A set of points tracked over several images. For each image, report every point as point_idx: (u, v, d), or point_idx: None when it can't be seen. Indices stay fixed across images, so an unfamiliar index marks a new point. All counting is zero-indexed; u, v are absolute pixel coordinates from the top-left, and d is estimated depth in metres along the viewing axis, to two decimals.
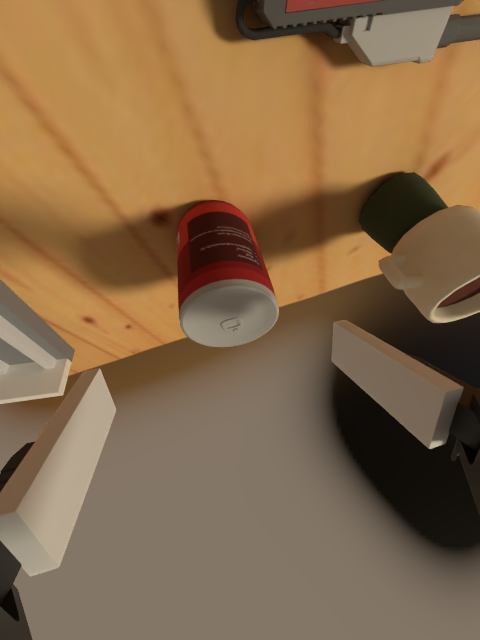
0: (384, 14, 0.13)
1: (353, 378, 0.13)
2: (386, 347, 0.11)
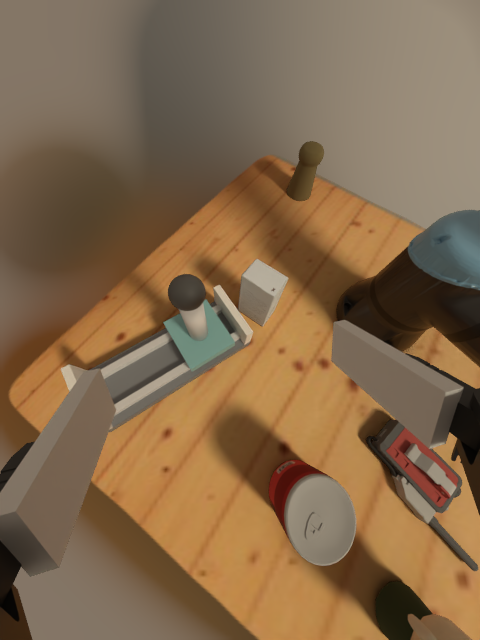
0: (413, 485, 0.34)
1: (353, 377, 0.13)
2: (387, 346, 0.11)
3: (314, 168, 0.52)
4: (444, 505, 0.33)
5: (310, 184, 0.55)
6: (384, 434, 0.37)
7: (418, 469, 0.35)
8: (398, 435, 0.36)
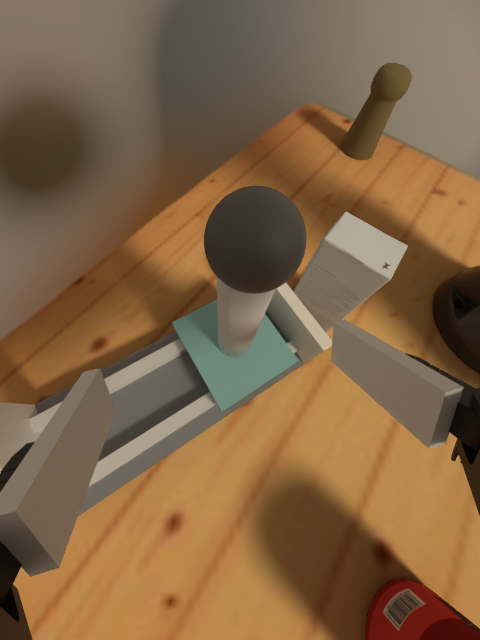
0: None
1: (353, 378, 0.13)
2: (386, 346, 0.11)
3: (392, 106, 0.36)
4: None
5: (379, 133, 0.39)
6: None
7: None
8: None
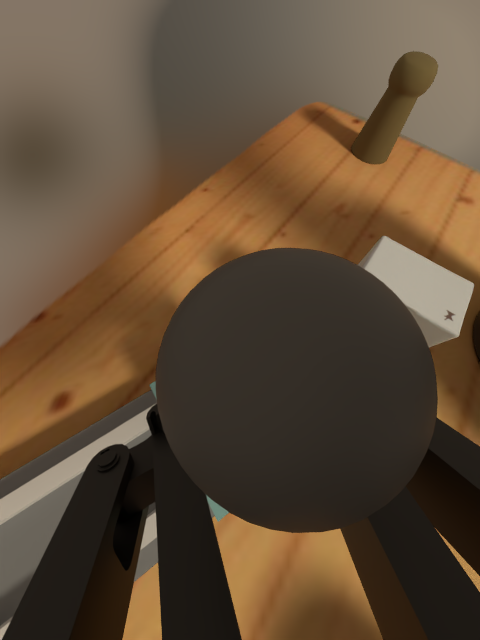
0: None
1: None
2: None
3: (413, 102, 0.31)
4: None
5: (397, 134, 0.34)
6: None
7: None
8: None
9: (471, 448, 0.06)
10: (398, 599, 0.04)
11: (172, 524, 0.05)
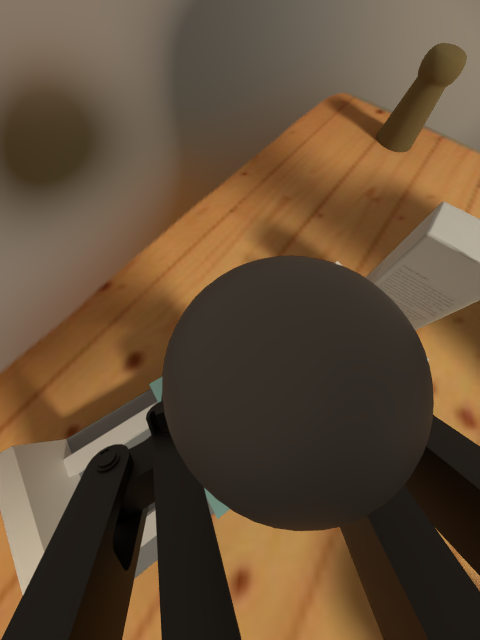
0: None
1: None
2: None
3: (441, 91, 0.33)
4: None
5: (423, 122, 0.36)
6: None
7: None
8: None
9: (471, 448, 0.06)
10: (398, 598, 0.04)
11: (172, 524, 0.05)
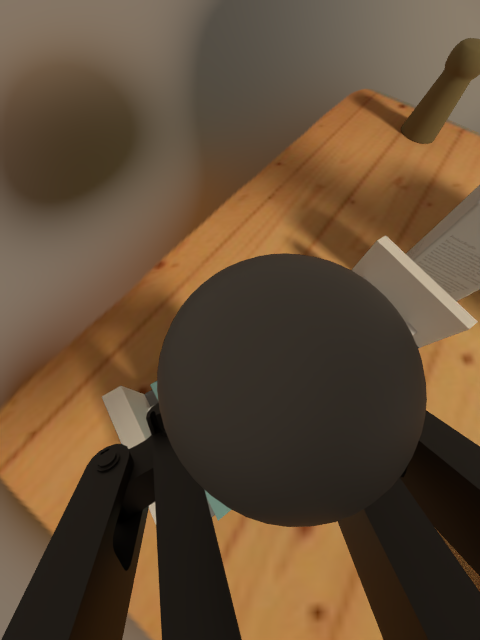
0: None
1: None
2: None
3: (467, 84, 0.35)
4: None
5: (448, 115, 0.38)
6: None
7: None
8: None
9: (471, 447, 0.06)
10: (398, 598, 0.04)
11: (172, 524, 0.05)
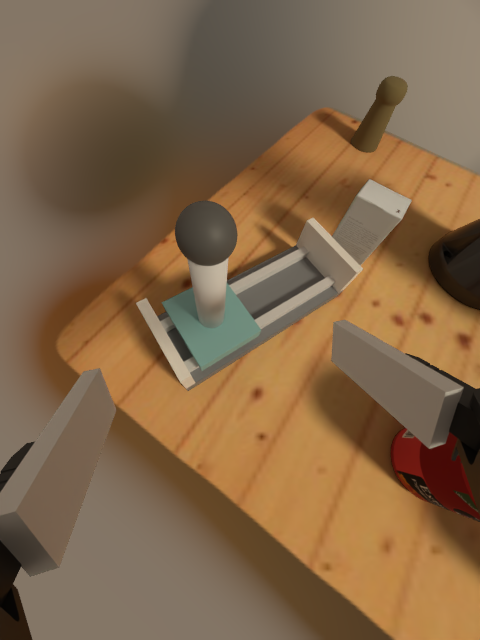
0: None
1: (353, 377, 0.13)
2: (387, 346, 0.11)
3: (392, 109, 0.46)
4: None
5: (382, 131, 0.49)
6: None
7: None
8: None
9: None
10: None
11: None
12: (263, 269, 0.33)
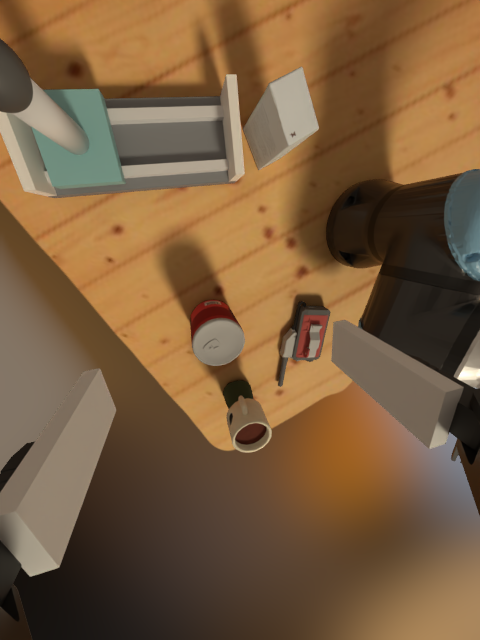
0: (296, 339, 0.48)
1: (353, 378, 0.13)
2: (387, 346, 0.11)
3: None
4: (299, 357, 0.50)
5: None
6: (312, 308, 0.47)
7: (307, 336, 0.48)
8: (319, 315, 0.47)
9: None
10: None
11: None
12: (161, 109, 0.30)
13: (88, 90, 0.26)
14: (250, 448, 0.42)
